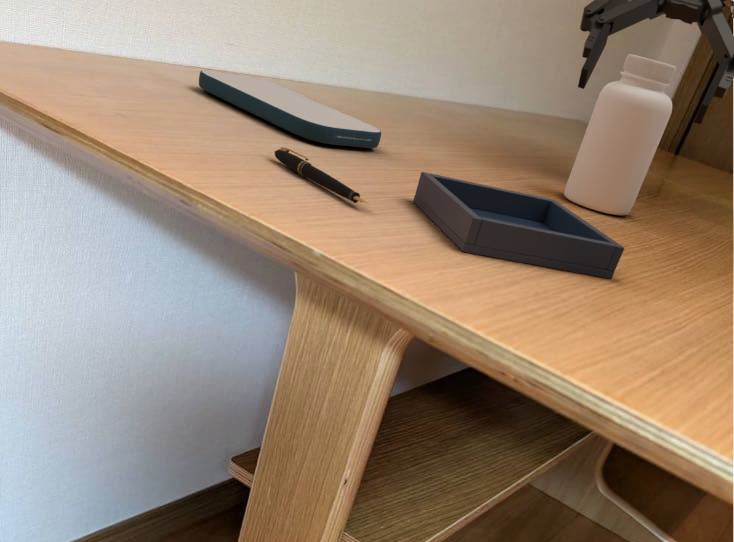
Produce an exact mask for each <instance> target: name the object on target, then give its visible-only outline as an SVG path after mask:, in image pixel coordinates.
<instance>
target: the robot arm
mask: <svg viewBox="0 0 734 542" xmlns="http://www.w3.org/2000/svg"><path fill="white" fill-rule="evenodd" d="M726 7H729V8H730V12H731V14H732V15H731V18H732V19H734V0H592V1H591V2H590V3H588V4H587V5H586V6H584V7H583V11H582V16H581V20H580V25H579V30H580V31H581V32H585V33H586V32H589V34H588V35H587V37H586V39H585V42H584V44H583V49H582V54H581V55H582V58H585V61H584V63H583V65H582V68H581V71H580V75H579V80H578V84H577V88H580V89H583V90H584V89H585V88H586V86H587V84H588V82H589V80H590V78H591V76H592V74H593V72H594V70H595V68H596V66H597V64H598V62H599V60H600V58H601V56H602V54H603V52H604V49H605V48H606V45H607V43H608V38H609V36H611V35H614V34H616V33H619V32H621V31H623V30H625V29H627V28H630V27H631V26H634V25H636V24H639V23H641V22H642V21H645V20H647V19H648V20H650V21H651V20H654V19H656V18H658V17H661V16H663V15H665V18H667V19H670V20H678V21H681V22H683V23H684V24H687V25H692V24H693V23H696V24H697V26H698V30H699V31H700V34H702V35H705V37H706V40H707V42H708V44H709V46H710V48H711V51H712V54H713V55H714V57H715V59H716V62H717V64H718V65H719V66H718V68H717V70H716V72H715V75H714V76H713V79H712V81H711V83H710V85H709V87H708V90H707V92H706V94H705V96H704V98H703V100H702V103H701V104H700V107H699V110H698V111H697V114H696V117H695V118H694V121H693V123H694V124H699V125H701V124H702V122H703V120H704V118H705V116H706V114H707V112H708V109H709V107H710V105H711V103H712V101H713V100H714V99H713V98H714V97H716V98H719V99H724V98H725V97H726V96H727V93H728V91H729V89H730V87H731V85H732V83H733V80H734V34H733V32H732V30H731V28H730V25H729V23H728V21H727V19H726V17H725V15H724V13H723V9H725V8H726Z"/></svg>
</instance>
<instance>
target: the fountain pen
mask: <svg viewBox="0 0 734 542" xmlns="http://www.w3.org/2000/svg"><path fill="white" fill-rule="evenodd" d="M273 153H274V157H275V158H276V160H278V161H279V162H280V163H281V164H282V165H284V166H286V167H287V168H288V169H290V170H292V171H293V172H295V173H297V174H298V175H300V176H301V177H303V178H307V179H309V180H311V181H312V182H314V183H316V184H318V185H320V186H321V187H323V188H325V189H327V190H329V191H331V192H333V193H335V194H337V195H339V196H341V197H343V198H344V199H347V200H348V201H351V202H352V203H353V204H356V203H358V202H360V203H364V204H369V203H368V202H367V200H364V199H363V198H361V195H360V193H359V192H357V191H355V190H354V189H352V188H351V187H349V186H347V185H346V184H344V183H342V182H341V181H340V180H338V179H336V178H334V177H332V176H331V175H330V174H328V173H326V172H325V171H323V170H321V169H319V168H317V167H316V166H314V165H312V163H310V162H309V160H310V159H309V157H308V156H305V155H303V154H301V153H298V152H296V151H294V150H292V149H290V148H287V147H283V146H281V147H280V148H278V149H276V150H274V152H273ZM299 156H300V157H299ZM303 158H304V159H303Z"/></svg>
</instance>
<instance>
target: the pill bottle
mask: <svg viewBox="0 0 734 542" xmlns="http://www.w3.org/2000/svg"><path fill="white" fill-rule="evenodd" d="M622 69H623V71H620V73H619V74H620V75H621V78H620V79H619V80H614V81H611V82H609V83H606V85H604V87H602V89H601V90H600V92H599V95H598V97H597V100H596V103H595V105H594V108H593V111H592V113H591V117H590V119H589V122H588V124H587V127H586V130H585V131H584V132H585V133H584V136H583V138H582V140H581V144H580V146H579V149H578V152H577V155H576V158H575V159H574V162H573V165H572V169H571V172H570V174H569V176H568V179H567V182H566V185H565V189H564V193H563V194H564V195H563V196H564V197H565V198H566V200H569V201H570V202H572V203H574V204H576V205H579V206H581V207H584V208H585V209H586V208H587V209H590V210H593V211H596V212H599V213H603V214H608V215H612V216H613V215H614V216H628V215H629V214H630V213H631V211H632V208H633V207H634V205H635V203H636V200H637V198H638V195H639V193H640V190H641V188H642V185H643V183H644V181H645V178H646V176H647V174H648V171H649V169H650V166H651V164H652V162H653V159H654V157H655V154H656V152H657V149H658V147H659V144H660V142H661V140H662V138H663V135H664V132H665V130H666V128H667V126H668V123H669V120H670V118H671V115H672V111H673V102H672V99H671V98H670V96H669V95H667V94H666V93H665V91H666V88H669V87H670V84H669V83H671V82H672V81H673V79H674V76H675V74H676V72H677V66H675V65H672V64H669V63H665V62H662V61H659V60H655V59H651V58H647V57H644V56H640V55H636V54H633V53H628V54H627V55H626V58H625V61H624V63H623V66H622Z"/></svg>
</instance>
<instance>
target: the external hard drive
mask: <svg viewBox="0 0 734 542" xmlns="http://www.w3.org/2000/svg"><path fill="white" fill-rule="evenodd" d="M198 86H199V88H201V89H202V90H203V91H206V92H208V93H209V94H211V95H213V96H216V97H218V98H220V99H221V100H224V101H226V102H227V103H230V104H232V105H234V106H236V107H238V108H240V109H242V110H244V111H245V112H248V113H251V114H253V115H254V116H256V117H259V118H260V119H264V120H265V121H267V122H269V123H271V124H273V125H275V126H277V127H279V128H282V129H283V130H285V131H288V132H290V133H292V134H294V135H297V136H299V137H302V138H304V139H307V140H311V141H314V142H318V143H322V144H328V145H336V146H344V147H345V146H346V147H355V148H367V149H377V147H379V145H380V141H381V138H382V131H381V130H380V129H379V128H378V127H375V126H374V125H372V124H370V123H368V122H365V121H363V120H361V119H358V118H356V117H354V116H351V115H349V114H347V113H344V112H342V111H341V110H338V109H335V108H333V107H331V106H329V105H327V104H324V103H323V102H319V101H317V100H315V99H313V98H311V97H309V96H306V95H304V94H302V93H299V92H297V91H295V90H292V89H291V88H288V87H286V86H283V85H281V84H279V83H275V82H273V81H269V80H266V79H262V78H259V77H254V76H250V75H249V76H248V75H242V74H236V73H229V72H223V71H216V70H208V69H201V70H200V71H199V76H198Z"/></svg>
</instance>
